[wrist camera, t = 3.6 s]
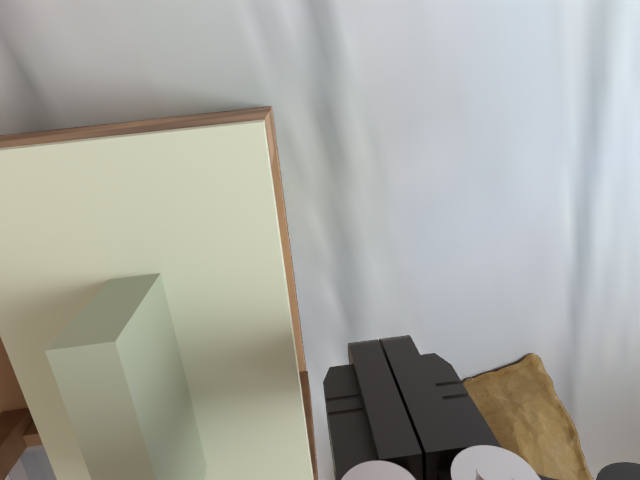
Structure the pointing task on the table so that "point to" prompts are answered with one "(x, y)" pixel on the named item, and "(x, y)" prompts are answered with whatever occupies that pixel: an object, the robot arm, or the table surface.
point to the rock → (530, 418)
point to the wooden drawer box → (3, 387)
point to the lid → (152, 306)
